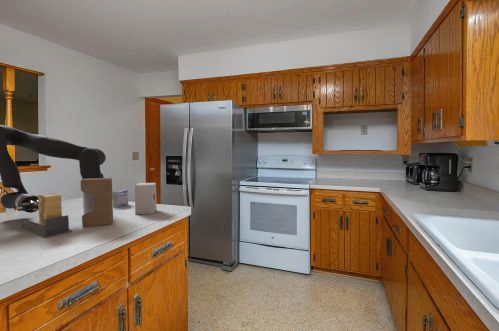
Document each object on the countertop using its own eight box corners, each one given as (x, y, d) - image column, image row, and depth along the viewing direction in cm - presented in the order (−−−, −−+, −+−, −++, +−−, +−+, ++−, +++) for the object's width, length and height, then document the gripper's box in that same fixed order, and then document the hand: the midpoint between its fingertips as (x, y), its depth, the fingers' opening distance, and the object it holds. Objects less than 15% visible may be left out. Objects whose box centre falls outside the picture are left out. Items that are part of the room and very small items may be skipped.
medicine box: (119, 207, 153) (119, 192, 153) (112, 207, 154) (112, 191, 154) (128, 204, 161) (128, 190, 161) (121, 204, 162) (121, 189, 162)
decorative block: (81, 227, 115) (79, 180, 113) (86, 223, 120) (84, 178, 119) (110, 225, 117) (108, 179, 116) (113, 221, 123) (112, 177, 122)
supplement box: (153, 214, 137) (152, 184, 136) (134, 214, 136) (134, 185, 135) (157, 210, 146) (156, 182, 145) (139, 210, 145) (138, 182, 144)
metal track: (21, 227, 115) (20, 211, 114) (46, 222, 122) (45, 207, 122) (44, 237, 101) (43, 220, 100) (71, 231, 108) (70, 215, 108)
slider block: (39, 229, 109) (37, 194, 108) (54, 226, 113) (52, 193, 112) (47, 232, 104) (46, 196, 103) (62, 229, 108) (60, 194, 107)
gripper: (8, 196, 115) (23, 201, 106) (45, 192, 126) (61, 196, 117) (9, 214, 116) (24, 220, 106) (46, 208, 127) (62, 213, 117)
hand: (43, 207), depth 111 cm, fingers closed
